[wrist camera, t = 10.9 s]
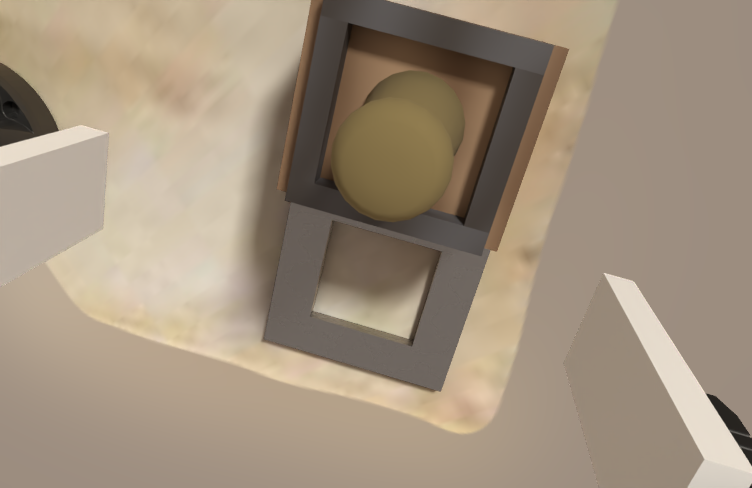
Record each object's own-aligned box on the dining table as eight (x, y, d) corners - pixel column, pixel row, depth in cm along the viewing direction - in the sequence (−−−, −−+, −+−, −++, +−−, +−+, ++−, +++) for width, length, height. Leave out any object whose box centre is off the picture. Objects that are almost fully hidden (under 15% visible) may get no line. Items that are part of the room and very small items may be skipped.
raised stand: (316, 154, 45) (268, 195, 34) (349, -10, 40) (307, -21, 30) (490, 203, 44) (497, 261, 34) (545, 42, 40) (573, 50, 29)
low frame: (267, 333, 51) (264, 339, 50) (301, 163, 45) (297, 166, 44) (441, 384, 51) (440, 391, 50) (499, 219, 45) (500, 223, 44)
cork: (349, 160, 34) (298, 218, 24) (374, 57, 32) (330, 72, 22) (447, 188, 34) (438, 259, 24) (479, 86, 32) (484, 116, 22)
